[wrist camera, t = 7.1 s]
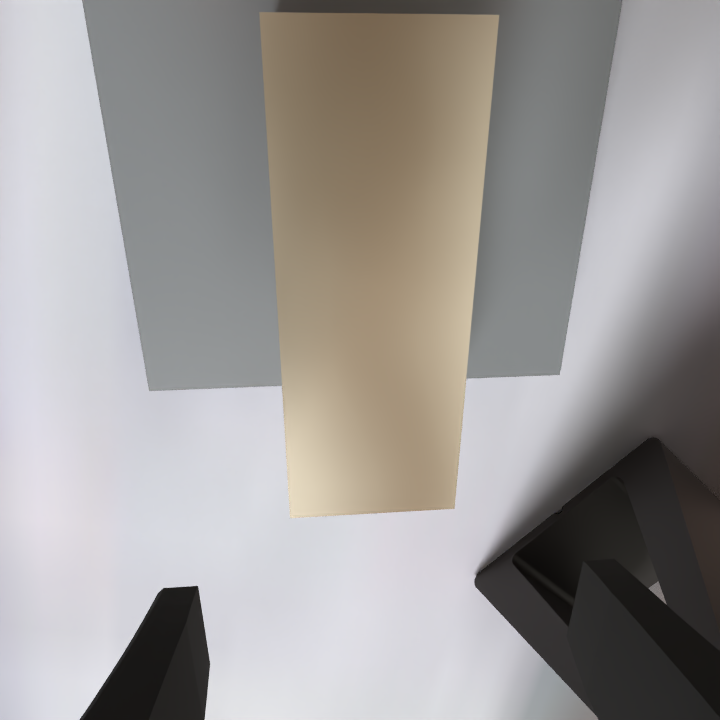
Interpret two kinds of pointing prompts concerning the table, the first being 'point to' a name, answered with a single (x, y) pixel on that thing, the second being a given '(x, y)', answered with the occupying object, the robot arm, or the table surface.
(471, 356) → the deck
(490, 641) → the table surface
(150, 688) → the robot arm
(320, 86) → the block
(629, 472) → the phone stand
